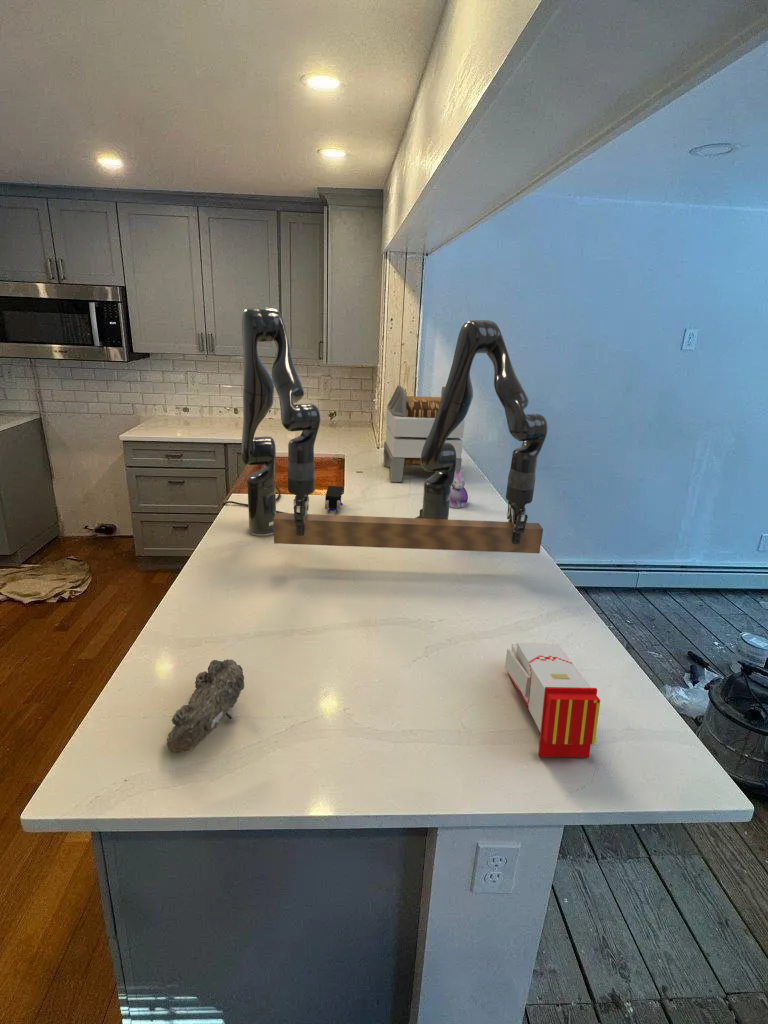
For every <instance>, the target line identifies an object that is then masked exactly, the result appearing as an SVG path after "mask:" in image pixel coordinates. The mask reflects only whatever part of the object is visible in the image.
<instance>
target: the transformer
mask: <svg viewBox="0 0 768 1024" xmlns="http://www.w3.org/2000/svg"><path fill="white" fill-rule="evenodd" d="M444 389H445V386H442V387H441V392H440V393H441V394H440V396H415V395H414V396H413V395H412V396H411V395H407V394H408V393H407V390H406V389H404V388H403V387H402V385H399V384H398V385H397V386H396V388H395V390H394V392H393V394H392V395H391V398H390V400H389V402H388V404H387V405H386V413H385V414H386V415H385V423H386V428H385V438H384V442H383V466H384V467H388V468H389V475H388V476H389V477H388V478H389V480H390V482H391V483H402V482H403V475H404V469H405V466H406V467H407V466H411V467H412V466H413V467H415V466H416V467H417V466H418V467H422V465H421V452H422V449H423V446H424V444H425V442H426V440H427V437H428V435H429V433H430V431H431V428H432V426H433V423H434V420H435V417H436V414H437V411H438V408H439V405H440V401H441V398H442V395H443V392H444ZM464 429H465V418H464V419H463V421H462V422H461V423H460V424H459V425H458V426H457V427H456V428H455V429H454V430H453V431H452V433H451V434H450V435H449V436H448V438H447V439H446V441H445V443H450V444H452V445H453V446H454V448H455V450H456V468H455V470H456V472H457V473H459V471H460V469H462V461H463V460H462V453H463V442H464V441H463V440H462V439H463V438H464V431H465V430H464Z"/></svg>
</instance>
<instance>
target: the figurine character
mask: <svg viewBox="0 0 768 1024" xmlns="http://www.w3.org/2000/svg"><path fill="white" fill-rule="evenodd" d="M343 491H344V486H337V485H328V486H327V488H326V493H325V497H324V498H325V500H324V510H327V513H328V514H330V513H331V511H335V514H338V513H339V510H341V507H342V506H343V504H344V503H343V502H342V496H343Z"/></svg>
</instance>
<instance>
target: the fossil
mask: <svg viewBox="0 0 768 1024" xmlns="http://www.w3.org/2000/svg"><path fill="white" fill-rule="evenodd" d="M243 670H244V669H243V667H242V665H240V664H237V662H236V661H235V660H234V659H232V658H231V659H227V658H226V659H224V660H223V661H222V660H217V659H212V660H211V661H210V663H209V665H208V666H207V671H201V672H199V673H198V674H197V675H196V676H195V680H194V684H195V685H194V687H195V689H194V690H193V693H192V694H191V697H190V698H189V700H188V704H184V705H182V706H181V707H180V709H177V710H176V711H175V713H174V715H173V716H172V718H171V723H172V724H173V727H172V730H171V731H170V732H168V734H167V738H166V741H167V742H166V745H167V749H168V750H169V751H173V752H174V753H176V754H178V753H182V752H188V751H189V752H192V751H193V750H195V748H196V747H197V746H199V744H200V743H201V742H203V741H204V740H205V739H206V738H207V737H208V736H209V735H210V734H211V733H212V732H214V730H215V729H217V727H218V726H219V724H220V722H221V721H222V720H223V719H224V718H225V716H226V717H227V719H229V720H233V717H232V715H230V714H229V710H230V709H231V708H234V706H235V704H236V703H237V702H238V699H239V697H240V695H241V693H242V691H243V690H245V689H244V688H245V675H244V671H243Z"/></svg>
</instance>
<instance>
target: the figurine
mask: <svg viewBox="0 0 768 1024" xmlns="http://www.w3.org/2000/svg"><path fill="white" fill-rule="evenodd" d="M463 474H464V468H461V469H460V471H459V473H457V472H456V470H455V475H454V481H453V484H452V486H451V493H450V505H449V508H454V509H455V508H456V509H459V508H464V507H466V506H467V504H468V500H469V495H468V491H467V489H466V487H465V484H466V483H465V479H464V477H463V476H464V475H463Z"/></svg>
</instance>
